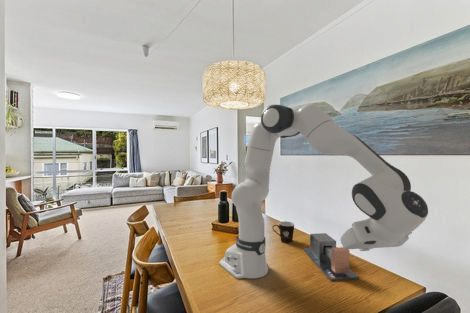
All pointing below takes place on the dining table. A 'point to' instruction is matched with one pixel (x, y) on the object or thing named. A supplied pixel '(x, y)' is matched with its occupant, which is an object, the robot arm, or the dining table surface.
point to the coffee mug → (285, 231)
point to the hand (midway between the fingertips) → (362, 248)
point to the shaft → (338, 258)
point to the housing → (326, 257)
